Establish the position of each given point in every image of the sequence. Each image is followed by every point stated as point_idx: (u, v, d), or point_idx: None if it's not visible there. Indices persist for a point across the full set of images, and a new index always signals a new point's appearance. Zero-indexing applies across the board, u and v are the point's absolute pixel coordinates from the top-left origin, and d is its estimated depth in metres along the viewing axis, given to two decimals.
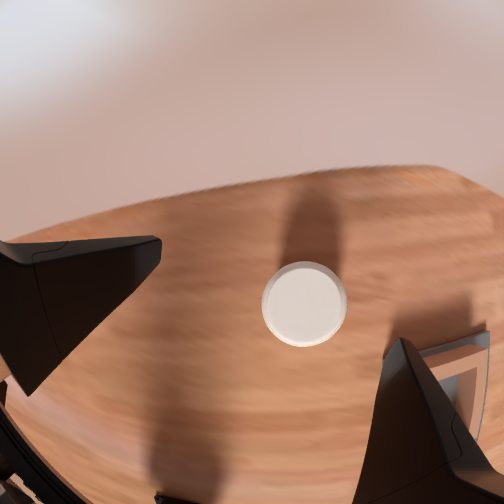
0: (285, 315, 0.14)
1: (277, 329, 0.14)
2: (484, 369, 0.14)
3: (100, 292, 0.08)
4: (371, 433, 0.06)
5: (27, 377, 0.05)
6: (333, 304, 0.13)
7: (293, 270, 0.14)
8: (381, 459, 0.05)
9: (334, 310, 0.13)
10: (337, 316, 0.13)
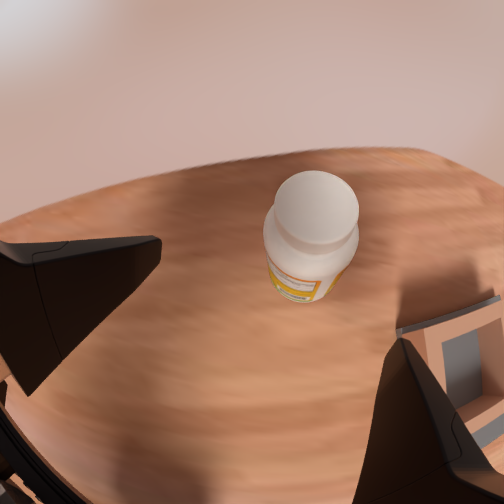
0: (297, 214, 0.12)
1: (289, 229, 0.12)
2: None
3: (100, 292, 0.08)
4: (371, 433, 0.06)
5: (27, 377, 0.05)
6: (349, 202, 0.12)
7: (301, 172, 0.13)
8: (381, 459, 0.05)
9: (351, 208, 0.12)
10: (355, 214, 0.12)
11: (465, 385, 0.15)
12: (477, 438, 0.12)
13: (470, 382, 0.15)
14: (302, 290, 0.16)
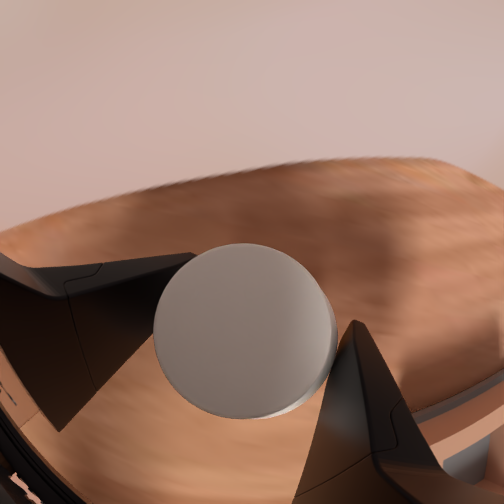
0: (193, 352, 0.05)
1: (175, 383, 0.05)
2: None
3: (138, 318, 0.07)
4: (319, 418, 0.06)
5: (59, 414, 0.05)
6: (310, 326, 0.05)
7: (214, 250, 0.06)
8: (322, 444, 0.05)
9: (313, 341, 0.05)
10: (321, 355, 0.05)
11: (465, 474, 0.08)
12: None
13: (472, 469, 0.08)
14: None
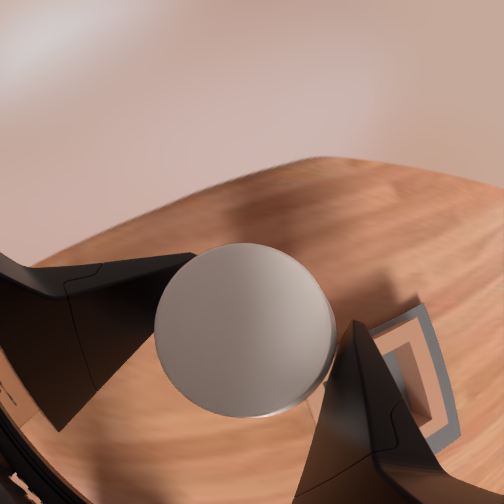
0: (194, 351, 0.06)
1: (176, 382, 0.05)
2: (421, 342, 0.15)
3: (138, 318, 0.07)
4: (319, 418, 0.06)
5: (59, 414, 0.05)
6: (310, 325, 0.05)
7: (215, 250, 0.06)
8: (322, 444, 0.05)
9: (313, 340, 0.05)
10: (321, 354, 0.05)
11: None
12: None
13: None
14: None
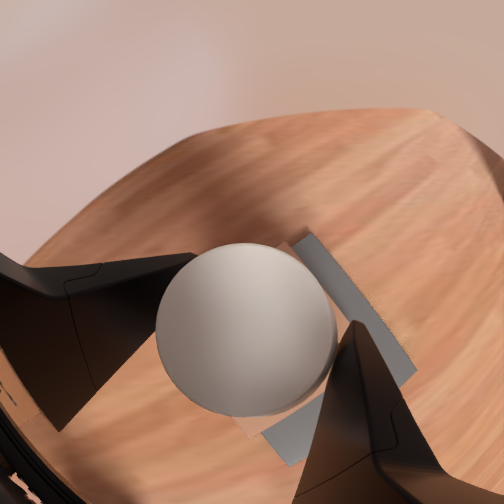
0: (195, 351, 0.06)
1: (177, 382, 0.05)
2: None
3: (138, 318, 0.07)
4: (319, 417, 0.06)
5: (59, 414, 0.05)
6: (311, 325, 0.05)
7: (216, 250, 0.06)
8: (322, 444, 0.05)
9: (314, 340, 0.05)
10: (322, 354, 0.05)
11: None
12: None
13: None
14: None
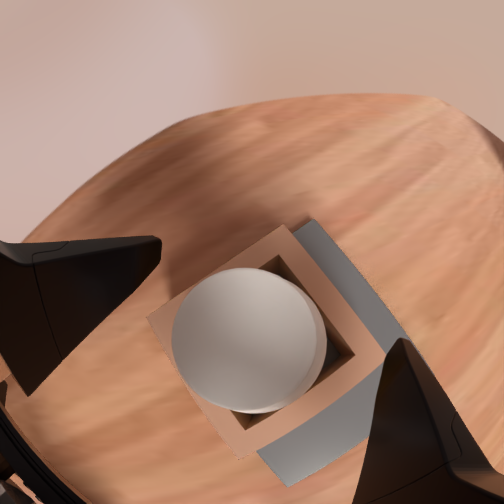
0: (204, 356, 0.07)
1: (189, 382, 0.07)
2: (299, 252, 0.14)
3: (100, 292, 0.08)
4: (371, 433, 0.06)
5: (27, 377, 0.05)
6: (299, 337, 0.07)
7: (222, 273, 0.08)
8: (381, 459, 0.05)
9: (301, 348, 0.07)
10: (307, 360, 0.06)
11: None
12: (370, 409, 0.14)
13: None
14: None
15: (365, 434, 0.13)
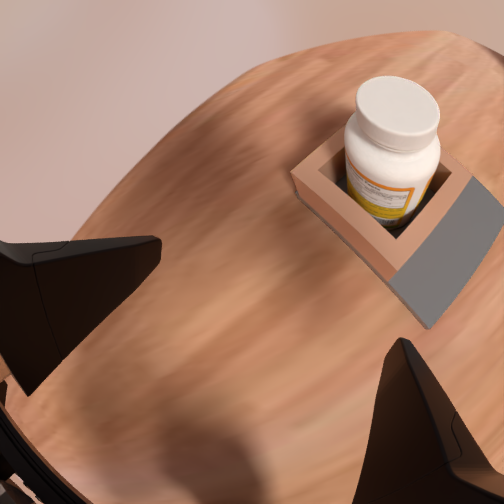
0: (383, 110, 0.09)
1: (380, 124, 0.09)
2: None
3: (100, 292, 0.08)
4: (371, 433, 0.06)
5: (27, 377, 0.05)
6: (427, 99, 0.09)
7: (373, 78, 0.10)
8: (381, 459, 0.05)
9: (430, 103, 0.09)
10: (436, 108, 0.08)
11: None
12: (473, 240, 0.15)
13: None
14: (393, 207, 0.14)
15: (476, 263, 0.14)
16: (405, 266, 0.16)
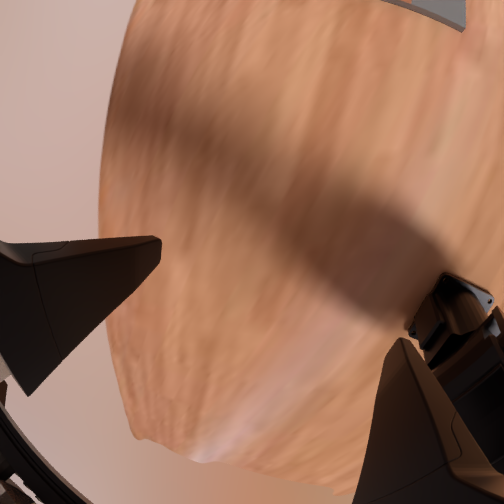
0: None
1: None
2: None
3: (100, 292, 0.08)
4: (371, 433, 0.06)
5: (27, 377, 0.05)
6: None
7: None
8: (381, 459, 0.05)
9: None
10: None
11: None
12: None
13: None
14: None
15: None
16: None
